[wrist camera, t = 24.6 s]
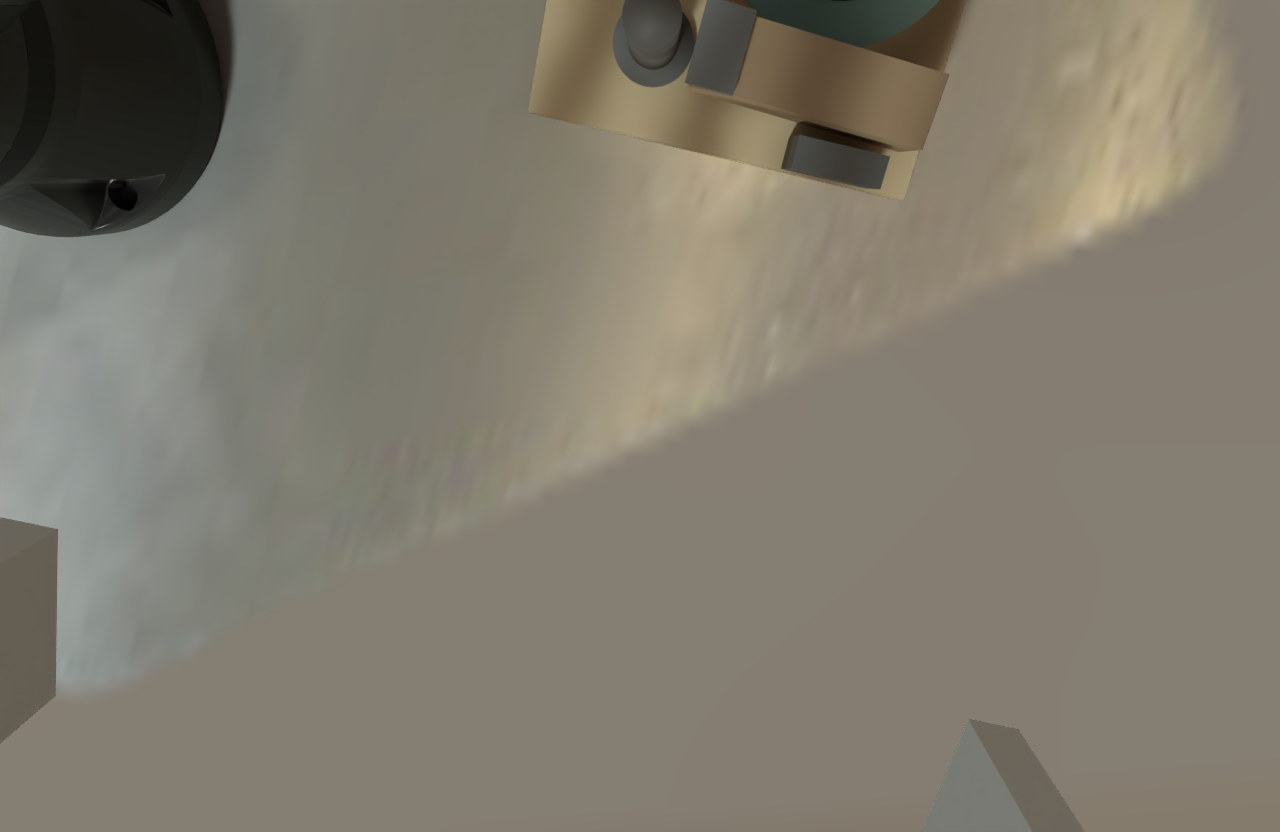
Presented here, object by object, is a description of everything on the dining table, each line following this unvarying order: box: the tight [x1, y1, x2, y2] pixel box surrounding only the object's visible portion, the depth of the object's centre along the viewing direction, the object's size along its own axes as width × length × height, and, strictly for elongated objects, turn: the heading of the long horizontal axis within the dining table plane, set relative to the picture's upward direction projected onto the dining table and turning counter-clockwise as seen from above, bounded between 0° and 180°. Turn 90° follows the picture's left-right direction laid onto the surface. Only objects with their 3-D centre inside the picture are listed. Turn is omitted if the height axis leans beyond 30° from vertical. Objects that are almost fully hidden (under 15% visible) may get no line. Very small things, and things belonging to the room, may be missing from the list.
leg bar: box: [685, 0, 949, 152], centre depth 34 cm, size 10×3×4 cm, turn 75°
